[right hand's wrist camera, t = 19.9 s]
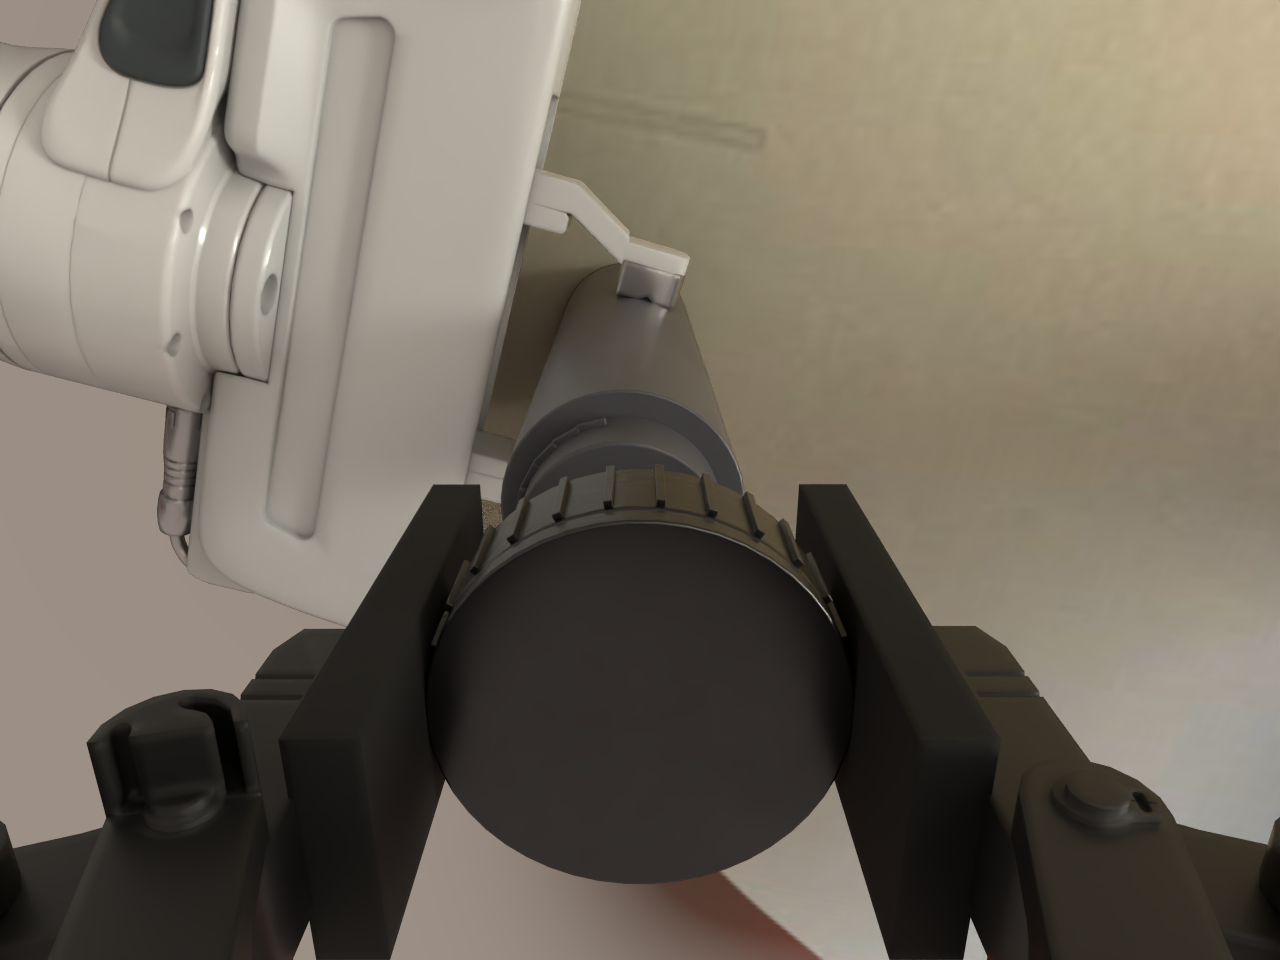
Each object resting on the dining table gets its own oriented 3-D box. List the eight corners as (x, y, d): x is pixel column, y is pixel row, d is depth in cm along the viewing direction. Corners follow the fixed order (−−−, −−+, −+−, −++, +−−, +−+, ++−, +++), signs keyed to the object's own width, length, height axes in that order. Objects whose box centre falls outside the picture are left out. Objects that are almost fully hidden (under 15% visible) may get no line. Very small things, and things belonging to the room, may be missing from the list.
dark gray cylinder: (553, 370, 33) (467, 630, 16) (578, 249, 32) (514, 387, 14) (670, 397, 34) (716, 680, 16) (700, 279, 32) (788, 448, 14)
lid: (777, 408, 11) (801, 453, 9) (871, 744, 13) (905, 831, 11) (385, 529, 12) (344, 592, 10) (528, 834, 13) (512, 930, 12)
